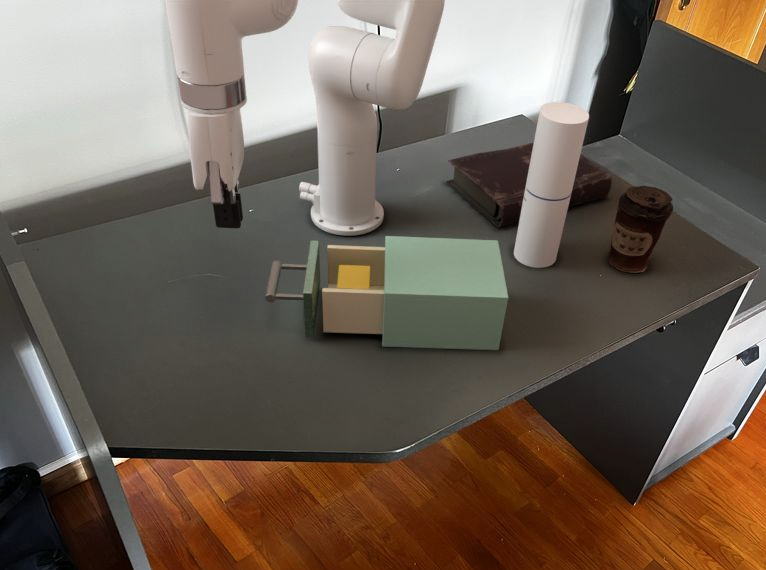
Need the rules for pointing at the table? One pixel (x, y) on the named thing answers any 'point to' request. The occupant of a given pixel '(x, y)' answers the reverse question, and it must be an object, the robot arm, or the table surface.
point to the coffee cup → (638, 227)
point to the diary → (515, 182)
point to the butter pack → (353, 277)
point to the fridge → (443, 293)
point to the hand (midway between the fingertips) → (229, 223)
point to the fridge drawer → (338, 290)
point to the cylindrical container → (550, 182)
